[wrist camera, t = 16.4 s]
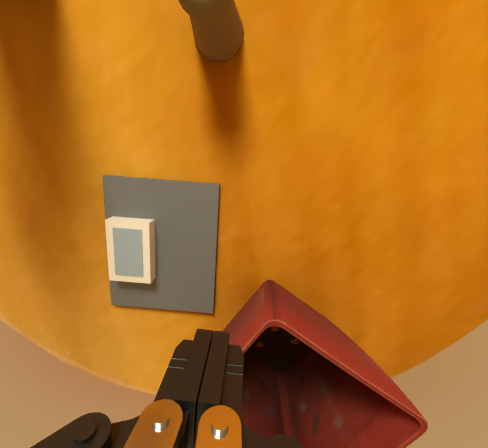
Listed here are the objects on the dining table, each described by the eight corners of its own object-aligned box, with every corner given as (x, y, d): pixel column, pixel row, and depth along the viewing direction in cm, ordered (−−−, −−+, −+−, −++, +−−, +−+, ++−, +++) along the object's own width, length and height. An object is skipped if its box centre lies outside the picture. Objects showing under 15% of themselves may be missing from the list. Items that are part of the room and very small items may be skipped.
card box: (154, 219, 36) (112, 216, 36) (148, 223, 34) (104, 219, 34) (155, 277, 39) (116, 274, 39) (150, 284, 37) (108, 280, 37)
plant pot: (264, 247, 38) (273, 316, 21) (361, 317, 40) (435, 427, 24) (193, 335, 42) (155, 447, 26) (284, 393, 44) (302, 530, 28)
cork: (183, 30, 31) (146, -36, 20) (221, -9, 30) (203, -100, 19) (216, 73, 32) (197, 31, 21) (253, 37, 31) (253, -26, 20)
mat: (105, 175, 36) (102, 175, 35) (219, 184, 36) (219, 184, 35) (114, 302, 41) (111, 304, 40) (213, 310, 41) (213, 313, 40)
